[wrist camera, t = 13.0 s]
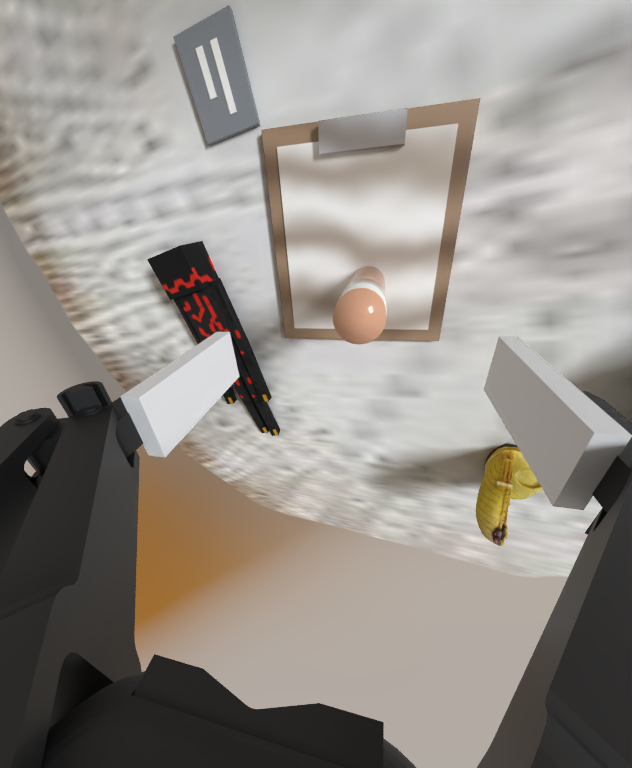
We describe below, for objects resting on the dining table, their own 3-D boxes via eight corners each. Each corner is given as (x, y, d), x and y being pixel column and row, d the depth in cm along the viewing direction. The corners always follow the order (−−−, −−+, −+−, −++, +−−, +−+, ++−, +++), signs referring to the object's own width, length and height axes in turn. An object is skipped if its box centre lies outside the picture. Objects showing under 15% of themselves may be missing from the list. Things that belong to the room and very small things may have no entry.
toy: (293, 419, 49) (209, 237, 35) (286, 439, 45) (187, 242, 31) (253, 425, 52) (160, 258, 38) (242, 444, 48) (133, 265, 34)
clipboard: (264, 132, 29) (257, 127, 27) (477, 101, 24) (483, 93, 23) (287, 336, 39) (283, 340, 38) (437, 338, 35) (440, 344, 34)
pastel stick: (350, 266, 32) (331, 291, 20) (386, 264, 31) (388, 290, 20) (350, 301, 34) (332, 344, 22) (384, 301, 33) (385, 345, 22)
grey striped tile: (177, 40, 26) (172, 36, 26) (231, 9, 25) (228, 4, 24) (210, 145, 30) (207, 143, 29) (260, 125, 28) (257, 123, 28)
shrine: (446, 465, 45) (470, 560, 32) (470, 427, 41) (508, 520, 28) (518, 486, 44) (572, 593, 31) (550, 450, 40) (628, 556, 27)
